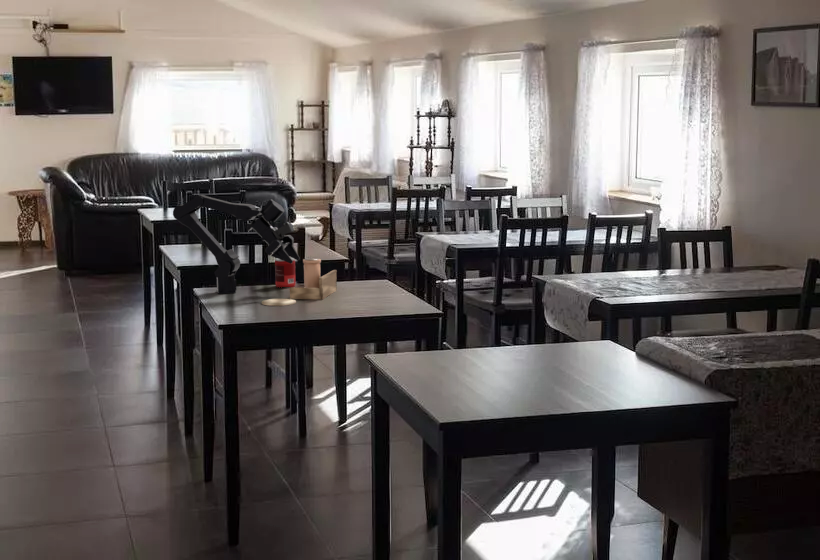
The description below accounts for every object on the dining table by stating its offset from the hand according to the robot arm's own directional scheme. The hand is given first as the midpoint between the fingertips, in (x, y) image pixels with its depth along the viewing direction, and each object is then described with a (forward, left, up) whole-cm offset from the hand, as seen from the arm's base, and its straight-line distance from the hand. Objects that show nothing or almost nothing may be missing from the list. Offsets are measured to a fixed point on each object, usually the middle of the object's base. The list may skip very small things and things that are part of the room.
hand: (295, 261), depth 408 cm
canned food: (0, +20, -13) cm, 23 cm away
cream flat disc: (-10, -18, -12) cm, 24 cm away
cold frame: (+6, -3, -12) cm, 14 cm away
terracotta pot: (+6, -3, -12) cm, 14 cm away
